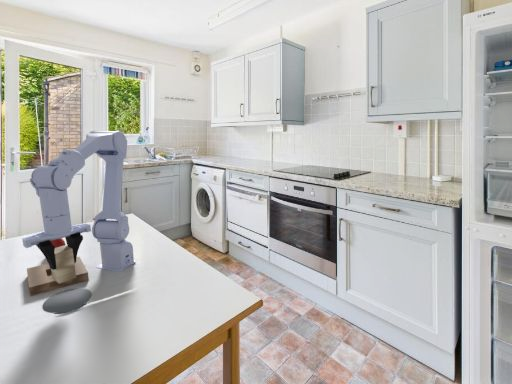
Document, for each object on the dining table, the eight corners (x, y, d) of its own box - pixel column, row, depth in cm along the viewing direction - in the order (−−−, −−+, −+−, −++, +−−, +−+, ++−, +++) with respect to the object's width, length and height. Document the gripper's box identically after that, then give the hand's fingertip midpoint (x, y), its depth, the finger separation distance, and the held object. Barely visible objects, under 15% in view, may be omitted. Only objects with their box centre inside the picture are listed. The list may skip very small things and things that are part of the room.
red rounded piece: (44, 259, 103) (41, 238, 101) (50, 253, 108) (47, 232, 107) (63, 258, 104) (60, 236, 103) (68, 251, 110) (66, 231, 108)
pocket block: (80, 264, 99) (79, 256, 99) (89, 281, 89) (87, 272, 88) (28, 277, 91) (26, 268, 90) (30, 297, 80) (28, 287, 79)
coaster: (101, 294, 82) (101, 292, 82) (65, 317, 72) (65, 315, 72) (70, 287, 85) (70, 285, 85) (32, 309, 75) (31, 307, 75)
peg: (69, 273, 80) (65, 245, 78) (76, 277, 78) (72, 248, 76) (52, 278, 77) (48, 249, 75) (59, 283, 75) (54, 253, 73)
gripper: (79, 205, 82) (85, 252, 84) (14, 218, 70) (23, 271, 73) (92, 210, 77) (97, 258, 80) (25, 223, 66) (34, 279, 69)
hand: (63, 265), depth 76 cm, fingers closed on peg, 4 cm apart
